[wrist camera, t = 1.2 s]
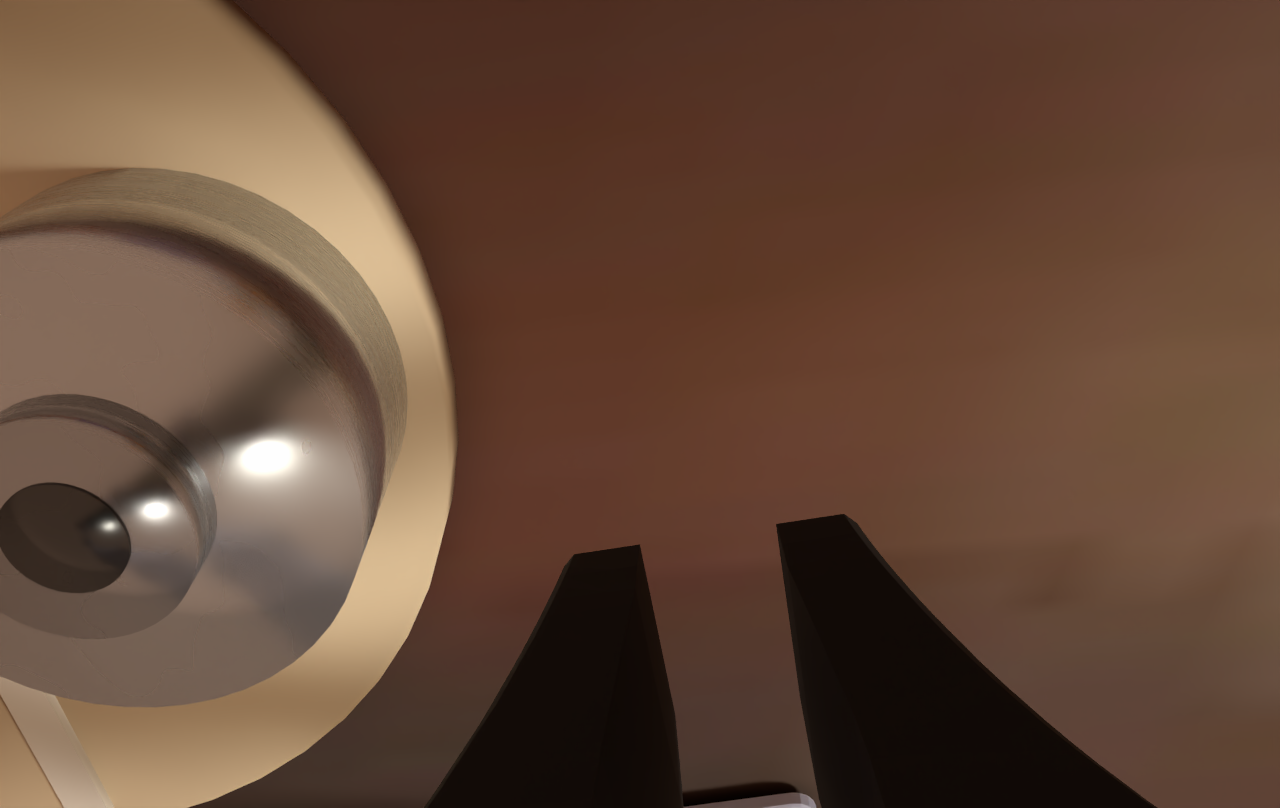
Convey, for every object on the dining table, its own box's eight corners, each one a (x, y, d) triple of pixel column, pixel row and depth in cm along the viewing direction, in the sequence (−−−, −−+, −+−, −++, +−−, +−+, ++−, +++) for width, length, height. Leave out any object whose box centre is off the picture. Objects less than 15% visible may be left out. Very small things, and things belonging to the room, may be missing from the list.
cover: (454, 533, 19) (411, 713, 15) (65, 593, 20) (-74, 782, 16) (334, 129, 16) (240, 225, 12) (-127, 211, 16) (-361, 330, 13)
